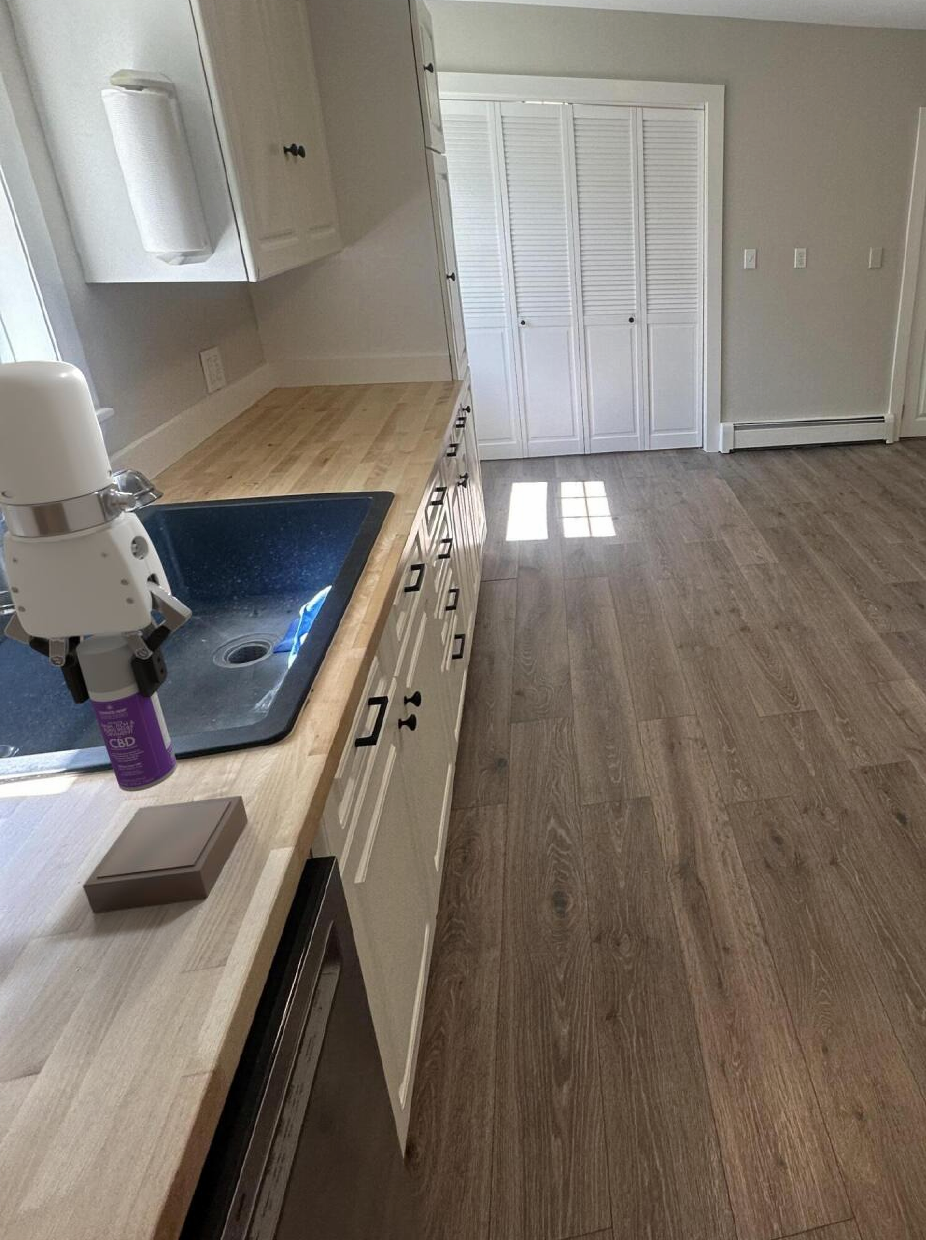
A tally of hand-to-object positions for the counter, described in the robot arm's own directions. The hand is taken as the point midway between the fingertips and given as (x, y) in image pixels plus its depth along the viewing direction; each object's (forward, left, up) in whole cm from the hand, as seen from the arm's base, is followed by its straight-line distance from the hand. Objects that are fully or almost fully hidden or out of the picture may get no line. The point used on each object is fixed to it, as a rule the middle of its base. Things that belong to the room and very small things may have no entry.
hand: (121, 689), depth 68 cm
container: (0, 0, -10) cm, 10 cm away
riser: (0, 0, -21) cm, 21 cm away
